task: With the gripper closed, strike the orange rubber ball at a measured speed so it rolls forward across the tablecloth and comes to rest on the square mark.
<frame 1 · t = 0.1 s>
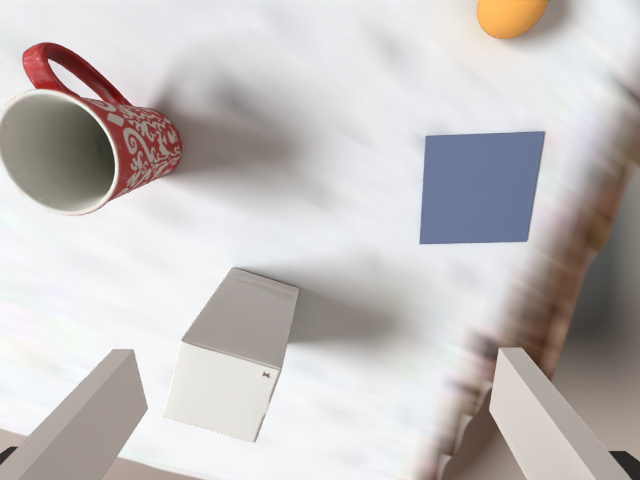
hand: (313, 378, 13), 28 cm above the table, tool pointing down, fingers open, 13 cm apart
ball: (511, 2, 30), on the table
supplement box: (256, 305, 44), on the table
mug: (145, 127, 37), on the table
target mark: (477, 190, 38), on the table
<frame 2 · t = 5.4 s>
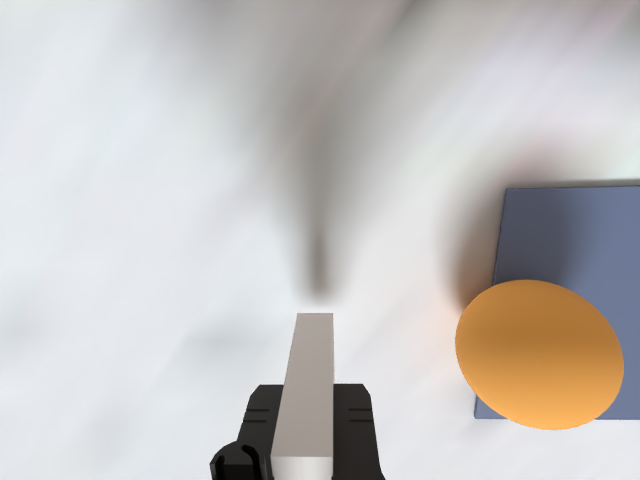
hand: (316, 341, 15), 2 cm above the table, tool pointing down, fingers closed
ball: (530, 350, 13), on the table
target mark: (620, 314, 16), on the table
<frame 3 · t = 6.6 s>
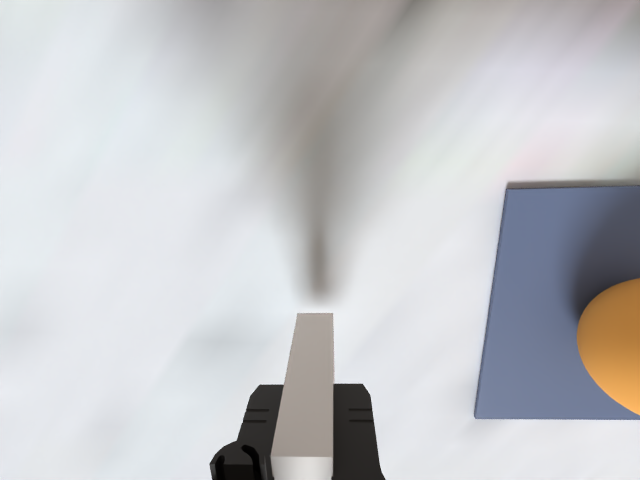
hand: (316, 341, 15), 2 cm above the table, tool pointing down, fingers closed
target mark: (620, 314, 16), on the table
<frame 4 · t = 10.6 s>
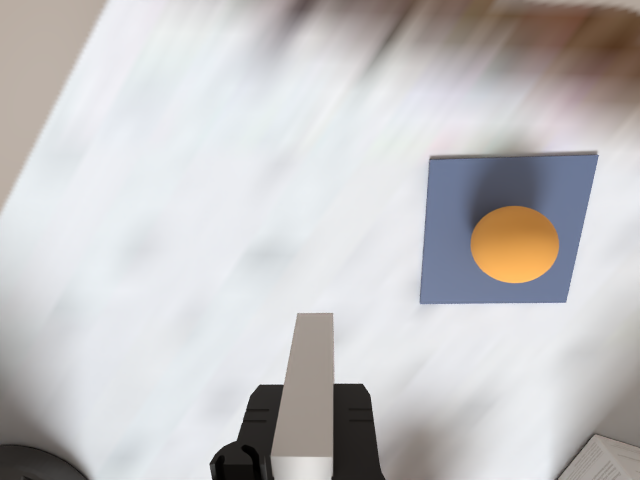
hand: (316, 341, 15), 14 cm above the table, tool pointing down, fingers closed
ball: (512, 244, 25), on the table
supplement box: (605, 473, 35), on the table
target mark: (501, 234, 27), on the table
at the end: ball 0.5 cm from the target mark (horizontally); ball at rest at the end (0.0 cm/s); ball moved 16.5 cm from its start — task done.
